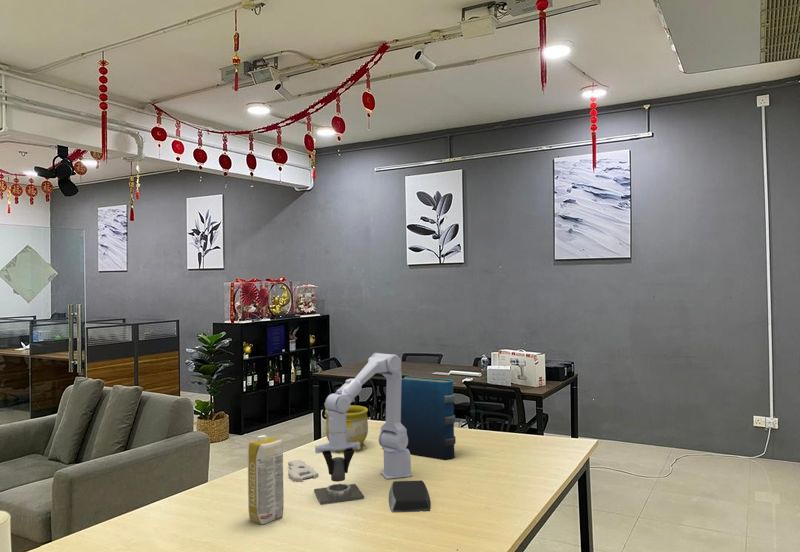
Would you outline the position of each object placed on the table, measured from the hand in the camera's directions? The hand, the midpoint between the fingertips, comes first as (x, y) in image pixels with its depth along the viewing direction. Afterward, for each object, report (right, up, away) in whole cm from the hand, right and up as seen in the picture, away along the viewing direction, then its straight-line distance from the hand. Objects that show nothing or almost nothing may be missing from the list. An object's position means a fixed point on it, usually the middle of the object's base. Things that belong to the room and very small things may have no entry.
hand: (338, 473), depth 187 cm
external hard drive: (+23, -7, -5) cm, 25 cm away
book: (+32, -8, +45) cm, 55 cm away
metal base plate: (0, -7, 0) cm, 7 cm away
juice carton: (-19, -7, -18) cm, 27 cm away
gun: (-16, -9, +23) cm, 29 cm away
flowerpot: (-2, -9, +55) cm, 56 cm away
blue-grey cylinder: (0, -2, 0) cm, 2 cm away
